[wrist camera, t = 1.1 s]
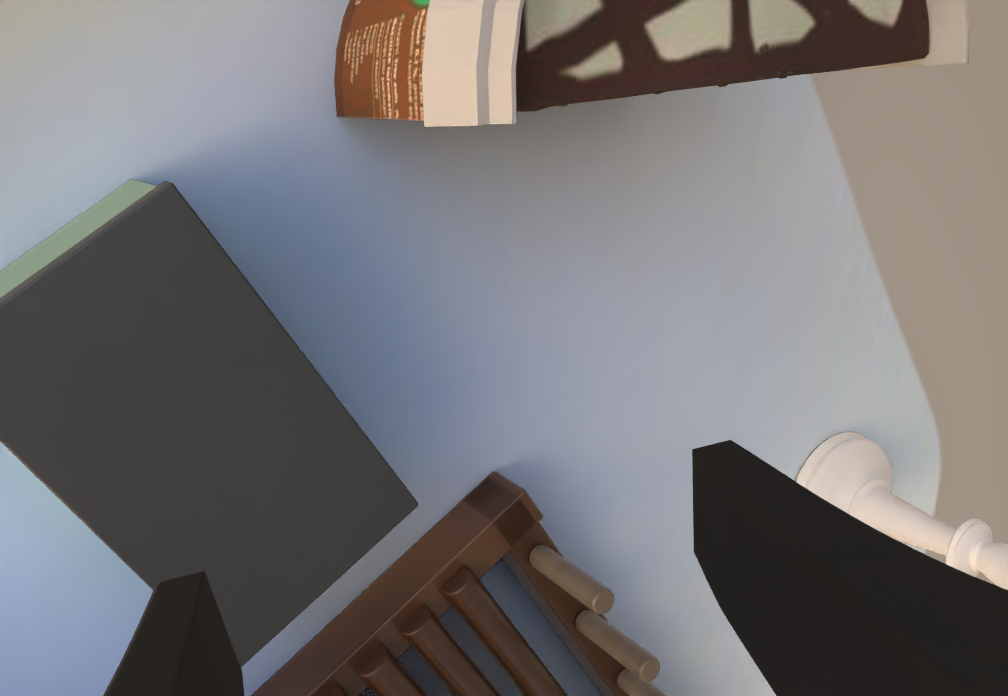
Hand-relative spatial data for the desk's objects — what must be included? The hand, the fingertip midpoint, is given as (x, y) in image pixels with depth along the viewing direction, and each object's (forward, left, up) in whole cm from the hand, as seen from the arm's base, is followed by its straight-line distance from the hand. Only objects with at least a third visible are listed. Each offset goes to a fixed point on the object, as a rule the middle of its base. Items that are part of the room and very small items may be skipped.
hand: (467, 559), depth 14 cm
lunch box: (-2, +1, -12) cm, 12 cm away
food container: (+11, +4, -12) cm, 17 cm away
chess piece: (+14, -19, -12) cm, 27 cm away
